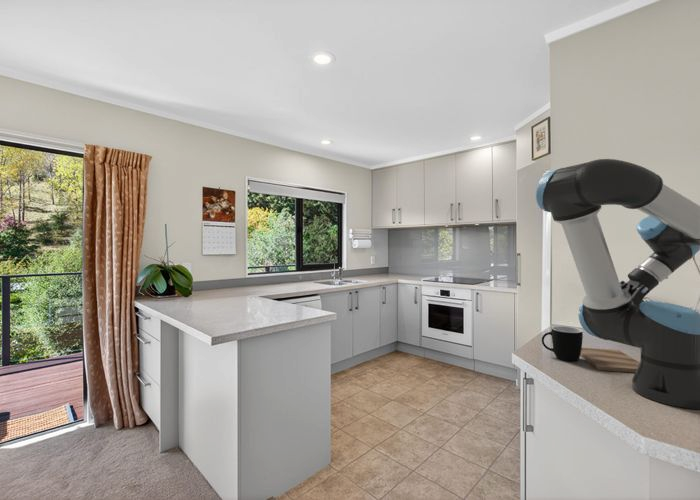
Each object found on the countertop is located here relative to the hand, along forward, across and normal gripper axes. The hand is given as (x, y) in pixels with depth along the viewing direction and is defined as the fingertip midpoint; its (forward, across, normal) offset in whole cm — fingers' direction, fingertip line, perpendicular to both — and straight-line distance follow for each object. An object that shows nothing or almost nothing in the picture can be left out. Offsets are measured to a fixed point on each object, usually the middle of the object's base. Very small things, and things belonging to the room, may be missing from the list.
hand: (594, 318), depth 113 cm
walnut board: (+7, 0, -12) cm, 14 cm away
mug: (+17, 0, -3) cm, 17 cm away
